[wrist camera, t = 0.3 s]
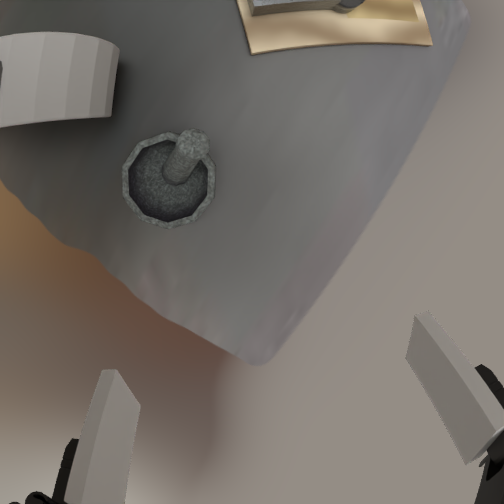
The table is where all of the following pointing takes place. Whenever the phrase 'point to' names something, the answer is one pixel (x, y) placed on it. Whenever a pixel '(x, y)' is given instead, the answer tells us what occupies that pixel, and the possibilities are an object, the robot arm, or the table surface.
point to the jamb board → (337, 26)
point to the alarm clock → (55, 77)
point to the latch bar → (300, 6)
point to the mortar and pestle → (170, 178)
